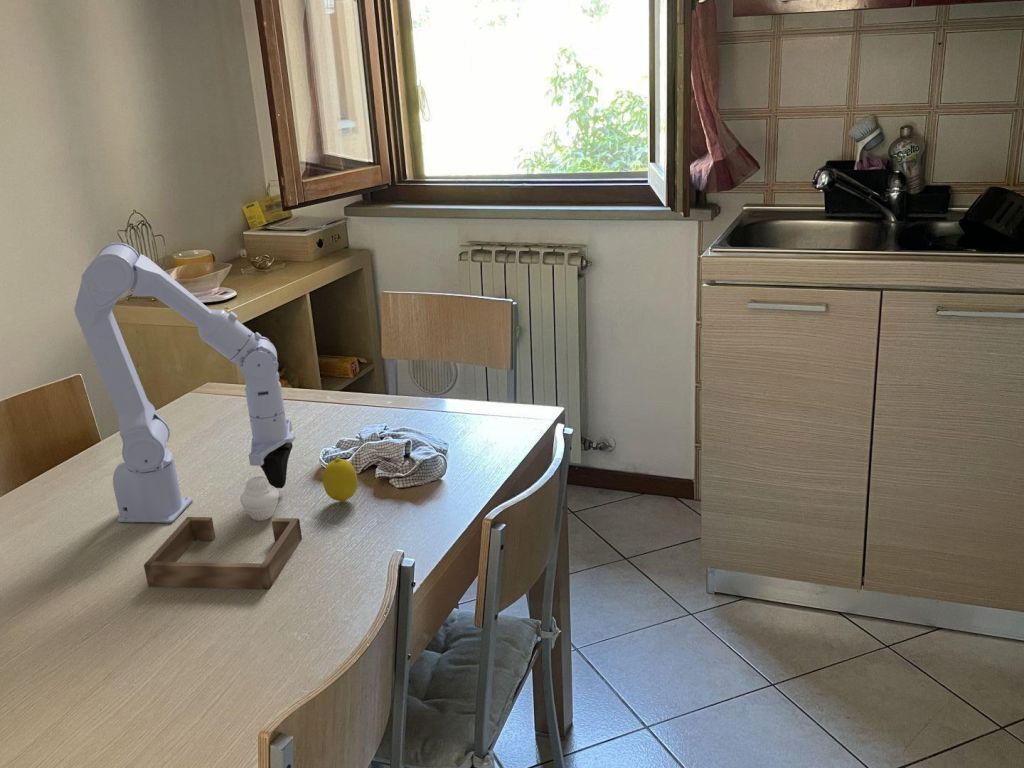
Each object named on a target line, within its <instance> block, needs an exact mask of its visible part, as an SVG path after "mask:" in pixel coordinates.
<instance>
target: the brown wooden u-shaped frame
mask: <svg viewBox="0 0 1024 768" xmlns="http://www.w3.org/2000/svg"><path fill="white" fill-rule="evenodd" d="M213 522H214V521H213V517H212V516H211V517H210V516H209V517H208V516H201V517H200V516H186V518H185V519H184V520H183V521H182V522H181V523H180V524H179V526H177V528H176V529H175V530H174V531H173V532H172V533H171V534H170V535H169V537H167V539H166V540H165V541H164V542H163V543H162V544H161V545H160V547H159V548H158V549H157V550H156V551H155V552H154V553H153V554H152V555H151V557H149V559H148V560H147V561H146V562H145V563H144V564H143V568H144V573H145V578H146V583H147V585H148V586H147V587H157V588H158V587H160V588H161V587H163V588H164V587H165V588H166V587H167V588H198V589H199V588H200V589H201V588H206V589H207V588H208V589H210V588H211V589H243V590H244V589H245V590H249V589H250V590H270V589H271V587H272V586H273V584H274V583H275V581H276V580H277V578H278V577H279V576H280V574H281V572H282V571H283V569H284V568H285V566H286V564H287V563H288V561H289V559H291V556H292V555H293V553H294V552H295V550H296V548H297V547H298V545H299V544H300V542H302V541H301V540H302V539H303V535H302V528H301V522H300V518H297V517H295V518H294V517H290V518H288V517H286V518H285V517H283V518H282V517H273V519H272V520H271V525H272V531H273V532H272V533H273V539H274V542H275V544H274V545H273V547H272V548H271V550H270V551H269V552H268V553H267V555H266V556H265V557H264V560H263V561H262V563H259V562H255V563H253V562H251V563H250V562H209V561H208V562H206V561H205V562H202V561H198V562H197V561H196V562H195V561H194V562H193V561H178V560H179V559H180V558H181V557H182V555H183V554H185V552H186V551H187V550H188V549H189V547H190V546H191V544H193V542H194V541H214V540H215V538H216V532H215V528H214V523H213Z"/></svg>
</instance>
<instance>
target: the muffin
mask: <svg viewBox="0 0 1024 768" xmlns="http://www.w3.org/2000/svg"><path fill="white" fill-rule="evenodd" d="M239 497H240V498H239V502H240V504H241V506H242V508H243V510H244V511H245V512H246V513H247V514H248V515H249V516H250V517H251V519H252V520H254V521H259V522H260V521H261V522H262V521H266V520H268V519H271V517H272V516H273V514H274V513H275V510H276V508H277V505H278V503H279V498H280V494H279V490H278V488H275V487H274V486H272V485H271V484H270V483H269V481H268V480H267V477H266V476H265V477H264V476H254V477H251V478H250V479H249V480H248V481H247V482H246V484H245V488H244V490H243V492H242V493H241V494H240V496H239Z"/></svg>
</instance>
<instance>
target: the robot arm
mask: <svg viewBox="0 0 1024 768" xmlns="http://www.w3.org/2000/svg"><path fill="white" fill-rule="evenodd" d="M80 279H81V280H80V281H81V282H80V285H79V289H78V293H77V296H76V297H77V298H76V300H75V301H76V302H75V305H74V314H75V318H76V319H77V322H78V324H79V327H80V329H81V331H82V333H83V336H84V338H85V340H86V344H87V346H88V348H89V350H90V353H91V356H92V357H93V360H94V362H95V365H96V368H97V370H98V372H99V375H100V377H101V379H102V383H103V384H104V387H105V389H106V392H107V393H108V394H107V395H108V396H109V398H110V401H111V403H112V406H113V408H114V411H115V413H116V415H117V421H118V431H119V435H120V437H121V440H122V449H121V456H122V460H123V461H122V462H119V463H118V464H117V466H116V467H115V469H114V472H113V477H112V487H113V491H114V496H115V501H116V505H117V510H118V514H119V517H118V518H117V521H118V523H170V524H171V523H173V522H174V521H175V520H176V519H177V518H178V517H179V516H180V515H181V514H182V513H183V511H184V510H186V508H188V506H189V505H190V504H191V503H192V502H193V500H194V499H193V497H183V496H182V493H181V488H180V487H181V486H180V484H179V483H180V482H179V478H178V473H177V468H176V462H175V457H174V454H173V453H172V451H170V450H169V448H168V447H167V443H168V442H169V438H170V435H171V431H170V427H169V425H168V423H167V422H166V421H165V420H164V419H163V418H162V417H161V416H160V415H159V414H158V413H157V411H156V408H155V406H154V405H153V404H152V403H151V402H150V401H149V399H148V398H147V395H146V392H145V389H144V387H143V385H142V383H141V380H140V377H139V375H138V372H137V371H136V370H137V369H136V367H135V365H134V362H133V360H132V358H131V357H132V356H131V355H130V352H129V350H128V348H127V345H126V342H125V340H124V338H123V335H122V332H121V330H120V327H119V325H118V323H117V320H116V318H115V315H114V313H113V308H114V306H115V305H116V303H117V302H118V300H119V299H120V298H121V297H122V296H123V295H125V294H126V293H127V292H128V291H129V290H130V289H134V290H133V291H132V293H131V297H154V298H156V300H159V302H161V303H163V304H164V305H166V306H167V307H168V308H170V309H171V310H173V311H175V312H176V313H177V314H179V315H180V316H181V317H183V318H185V319H186V320H187V321H188V322H191V323H192V324H194V325H195V326H196V327H197V329H198V330H197V331H198V336H199V338H200V339H201V340H202V341H203V342H205V343H206V344H207V345H209V346H211V348H212V349H214V350H216V351H217V352H218V353H219V354H221V355H222V356H224V357H225V358H226V359H227V360H228V361H230V362H232V363H234V364H237V365H239V367H238V369H239V373H241V375H242V376H243V377H244V380H245V388H244V391H245V397H246V398H245V399H246V403H247V410H248V416H249V423H250V429H251V436H252V438H251V444H250V447H251V448H250V452H249V454H248V461H249V465H250V466H251V467H252V466H255V467H256V466H257V467H260V468H261V469H262V471H263V473H264V475H265V478H266V479H267V480H268V481H269V483H270V484H271V485H272V486H274V487H275V488H276V489H283V488H284V487H285V486H286V481H287V473H288V470H287V469H288V463H289V458H290V455H291V451H292V449H293V442H294V441H295V440H296V434H294V433H291V432H292V431H293V426H292V425H293V424H292V420H291V419H287V418H286V417H287V416H286V412H285V411H286V410H285V409H286V408H285V403H284V397H283V390H282V389H283V388H282V383H281V382H280V373H279V371H278V370H279V362H278V353H277V349H276V347H275V345H274V344H273V343H272V342H271V340H270V339H269V338H268V337H265V336H262V334H261V333H259V332H257V331H256V332H255V333H254V332H253V331H252V330H251V329H249V328H248V327H247V326H245V325H244V324H243V323H241V322H240V321H239V320H238V315H237V314H236V313H235V312H234V311H230V312H227V311H226V310H225V309H210V308H209V307H208V306H207V305H205V304H204V303H203V302H202V301H200V299H198V298H197V297H196V296H195V295H194V294H192V293H191V292H189V290H188V289H186V288H185V287H184V286H182V285H181V284H180V283H179V282H178V281H177V280H176V279H174V278H173V277H172V276H171V275H169V274H168V273H167V272H166V271H164V269H162V268H161V267H160V266H159V265H158V264H156V262H154V261H152V260H151V258H149V257H147V256H146V255H144V254H142V253H141V254H139V253H138V252H137V250H136V249H135V248H134V247H132V246H131V245H129V244H126V243H124V242H112V243H109V244H107V245H105V246H104V247H102V249H101V250H100V251H99V253H98V254H97V255H96V256H95V258H93V260H92V261H91V262H90V263H89V265H88V266H87V268H85V270H84V271H83V272H82V274H81V278H80Z"/></svg>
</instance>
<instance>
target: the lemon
mask: <svg viewBox="0 0 1024 768" xmlns="http://www.w3.org/2000/svg"><path fill="white" fill-rule="evenodd" d="M322 476H323V477H322V483H323V484H322V485H323V488H324V490H325V492H326V494H327V496H328V497H329V498H330V499H332V500H334V501H339V502H340V503H341V504H343V503H345V502H346V501H347V500H348V499H351V498H352V497H353V496H354V495H355V493H356V491H357V489H358V475H357V472H356V469H355V467H354V465H353V464H352V463H351V462H350V461H348V460H347V459H344V458H343V459H342V458H340V457H336V458H335V459H333V460H332V461H330V462H329V463H327V465H326V466H325V468H324V471H323V474H322Z"/></svg>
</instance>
